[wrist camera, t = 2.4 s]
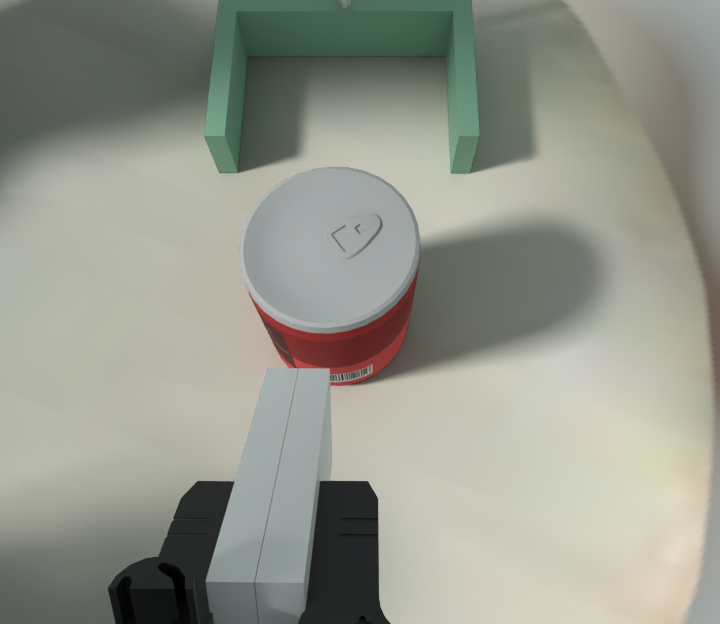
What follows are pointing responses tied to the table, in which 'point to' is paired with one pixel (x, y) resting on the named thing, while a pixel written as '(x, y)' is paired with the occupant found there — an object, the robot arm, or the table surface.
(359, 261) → the canned food
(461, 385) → the table surface
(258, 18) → the green c-shaped bracket
